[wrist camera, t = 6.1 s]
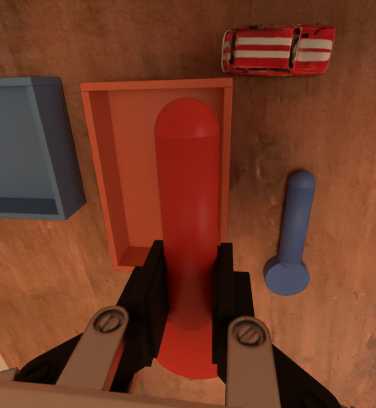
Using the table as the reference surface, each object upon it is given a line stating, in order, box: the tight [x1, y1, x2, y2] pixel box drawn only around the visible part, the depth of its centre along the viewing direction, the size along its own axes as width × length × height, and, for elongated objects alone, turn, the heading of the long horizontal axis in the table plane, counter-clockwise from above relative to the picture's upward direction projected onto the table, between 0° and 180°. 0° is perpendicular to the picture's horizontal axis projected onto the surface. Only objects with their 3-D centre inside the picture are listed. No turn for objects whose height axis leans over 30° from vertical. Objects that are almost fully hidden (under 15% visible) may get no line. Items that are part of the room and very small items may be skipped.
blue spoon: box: [264, 171, 315, 296], centre depth 26 cm, size 14×4×2 cm, turn 2°
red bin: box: [80, 78, 233, 271], centre depth 24 cm, size 17×11×4 cm, turn 2°
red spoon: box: [154, 97, 219, 379], centre depth 11 cm, size 14×4×2 cm, turn 2°
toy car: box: [221, 20, 335, 78], centre depth 19 cm, size 4×8×3 cm, turn 89°
